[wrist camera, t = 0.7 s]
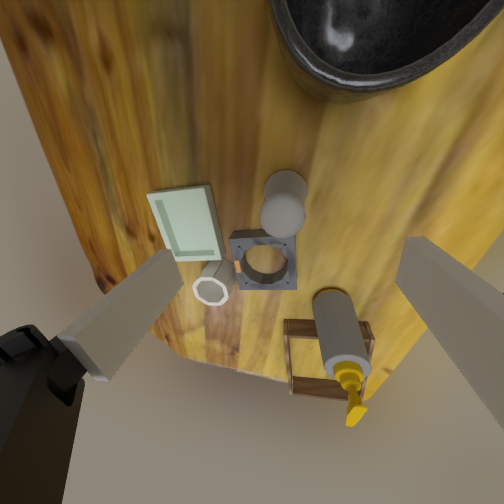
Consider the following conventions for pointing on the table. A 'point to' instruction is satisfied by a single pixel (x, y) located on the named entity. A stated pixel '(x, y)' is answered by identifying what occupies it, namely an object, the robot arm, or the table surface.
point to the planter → (372, 41)
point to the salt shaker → (283, 204)
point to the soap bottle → (342, 346)
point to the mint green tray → (188, 222)
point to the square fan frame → (257, 280)
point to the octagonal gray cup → (215, 282)
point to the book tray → (313, 385)
